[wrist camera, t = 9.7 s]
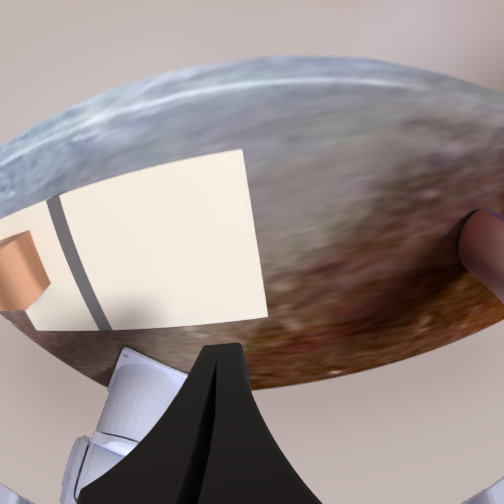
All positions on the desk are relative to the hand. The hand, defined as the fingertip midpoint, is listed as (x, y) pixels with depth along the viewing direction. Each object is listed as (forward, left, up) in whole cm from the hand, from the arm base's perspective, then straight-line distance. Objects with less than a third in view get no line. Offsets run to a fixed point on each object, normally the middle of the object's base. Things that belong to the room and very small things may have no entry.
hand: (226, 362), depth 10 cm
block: (-11, +16, -9) cm, 21 cm away
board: (-7, +8, -10) cm, 15 cm away
